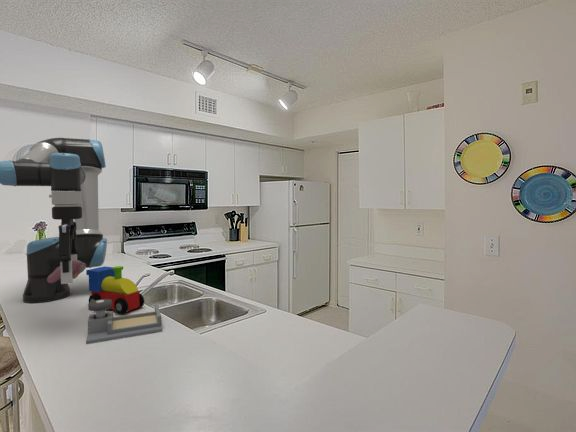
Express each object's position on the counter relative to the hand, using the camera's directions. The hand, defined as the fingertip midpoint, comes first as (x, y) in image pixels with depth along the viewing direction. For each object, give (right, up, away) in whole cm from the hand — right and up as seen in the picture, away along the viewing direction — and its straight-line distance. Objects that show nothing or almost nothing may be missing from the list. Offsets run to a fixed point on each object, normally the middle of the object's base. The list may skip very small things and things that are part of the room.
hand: (69, 278), depth 100 cm
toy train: (+5, -14, +17) cm, 22 cm away
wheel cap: (+12, -11, -4) cm, 17 cm away
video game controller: (0, 0, 0) cm, 1 cm away
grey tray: (+18, -14, -1) cm, 23 cm away
